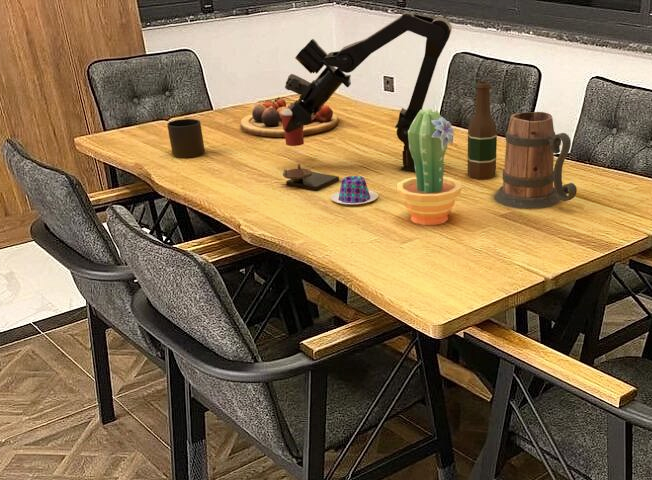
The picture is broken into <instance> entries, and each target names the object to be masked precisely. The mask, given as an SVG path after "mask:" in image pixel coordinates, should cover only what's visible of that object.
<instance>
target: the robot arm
mask: <svg viewBox="0 0 652 480" xmlns="http://www.w3.org/2000/svg"><path fill="white" fill-rule="evenodd" d="M406 32H410V33H413V34H416V35H418V36H421V37H423V38H425V39H426V40H425V48H424V49H425V50H424V57H423V59H422V62H421V66H420V68H419V72H418V76H417V79H416V81H415V85H414V89H413V91H412V95H411V98H410V100H409V104H408V106H407V107H406V109H405V108H404V107H401V109H400V111H399V114H398V120H397V122H396V124H395V126H394V128H395V129H396V136H397V138H398V140H399V141H400V142H402V144H403V150H402V152H401V153H402V166H401V167H400V170H402V171H409V172H414V173H416V172H415V165H414V160H413V157H412V155H411V152H410V150H409V139H408V130H409V128H410V126H411V124H412V122H413V121H414V119H415V117H416V116H417V114H418V112H419V111H420V110H423V107H424V105H425V101H426V98H427V95H428V91H429V88H430V85H431V82H432V78H433V76H434V73H435V69H436V67H437V64H438V60H439V58H440V56H441V54H442V52H443V50H444V48H445V46H446V45H447V42H448V40H449V39H450V36H451V34H452V25H451V22H450V20H448V19H447V18H446V17H444V16H443V17H442V16H439V17H435V18H433V17H430V16H426V15H420V14H417V13H413V12H411V11H405V12H403V13H402V15H400V16H398V18H396V19H394V20H393V21H391V22H389V23H388V24H386V25H385V26H384V27H383V26H382V28H380V29H379V30H377V31H375V32H374V33H372V34H371V35H369V36H368V37H366V38H364V39H362V40H358V41H355V42H353V43H350V44H348V45H345V46H343V47H342V48H341V49H340V50H338V51H331V52H328V53H327V52H326V50H324V49H323V48H322V47H321V46H320V44H318V42H317V41H316V40H315V39H314V38H312V39H310V40H309V42H308V43H307V44H306V45H305V46H304V47H302V49H300V51H299V52H298V53H297V54H296V56H295V57H294V59H295V60H297V62H298V63H299V64H300V65H301V66H302V67H303V68H304V69H306V71H308V73H310V74H318V73H319V72H320V71H322V72H320V74H319V75H318V76H317V77H316V78H315V79H314V80H312V81H311V82H310V81H309V80H307V79H305V78H302V77H300V76H298V75H296V74H294V73H290V74H289V75H288V78H287V79H286V81H285V85H284V89H286V90H287V91H291V92H293V93H296V94H297V95H299V97H298V99H297V100H295V101H294V102H292V103H293V105H292V106H291V107H290V108H289V109H290V111H292V117H291V119H290V120H289V122H288V124H287V126H286V128H285V131H286V132H287V133H288V132H291V131H293V130H295V129H297V128H299V127H302V126H304V125H308V124H309V123H310V122H311V121H312V119H313V118H314V116H315V115H316V114H317V112H319V111H320V110H321V108H322V107H323V106H324V105H326V103H327V102H328V101H329V100H330V98H331V97H332V96H333V95H334V93H336V91H337V90H338V89H339V88H340V86H342V84H343V85H344V86H345V87H346V88H349V87H350V86H351V85H352V82H351V74H350V73H352V72H353V71H354V70H356V69H357V68H358V67H359V66H360V65H361V64H362V63H363V62H364V61H365V60H367V58H368V57H369V56H371V55H372V54H373V53H375V52H376V51H378V50H379V49H381V48H383V47H384V46H386V45H387V44H389V43H390V42H392V41H393V40H395V39H397V38H398V37H400V36H402V35H403V34H404V33H406ZM324 66H325V67H324ZM323 68H324V69H323ZM322 69H323V70H322ZM348 73H349V74H348Z"/></svg>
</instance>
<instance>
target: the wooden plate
mask: <svg viewBox="0 0 652 480" xmlns="http://www.w3.org/2000/svg"><path fill="white" fill-rule="evenodd" d="M293 103H294V102H291V103H289V104H288V105H287V102H286V100H285V99H284V98H282V97H280V96H278V97H277V98H274V101H273V100H266V101H265V102H264V103H260V102H259V103H258V104H256V105H255V106H254V108H253V109H252V112H251V114H249V115H246V116H244V117H243V118H242V119H241V120H240V123H239V126H240V128H241V129H242V131H244V132H245V133H248V134H252V135H256V136H262V137H269V138H271V137H274V138H285V131H284V130H283V123H282V114H281V111H284V110H289V108H290V107H291V106H292V105H293ZM338 123H339V116H338V115H337V114H336V113H334V111H333V109H332V108H331V107H330V106H329V105H327V104H324V106H323V107H322V108H321V110H320V111H319V112H317V114H316V115H315V116H314V118H313V119H312V121H311V122H310V123H309V124H308V125H304V126H303V127H304V129H303V136H308V135H314V134H319V133H322V132H326V131H328V130H331V129H332V128H334V127H336V126H337V125H338Z"/></svg>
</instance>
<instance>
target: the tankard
mask: <svg viewBox="0 0 652 480" xmlns="http://www.w3.org/2000/svg"><path fill="white" fill-rule="evenodd" d="M507 127H508V128H507V130H506V132H505V155H504V165H503V166H504V167H503V168H504V169H503V170H502V177H501V178H502V185H501V186H500V187H499V188H498V191H497V192H496V193H495V194H494V195H493V200H495V202H497V204H501V205H502V206H506V207H509V208H514V209H525V210H526V209H527V210H528V209H529V210H530V209H531V210H534V209H543V208H549V207H552V206H555V205H557V204H559V203H560V202H561V201H562V202H569V201H571V200H573V199H574V198H575V197H576V195H577V192H578V190H577V186H576V185H575V183H573V182H569V183H566V184H563V177H562V176H563V166H564V163H565V160H566V158H567V156H568V154H569V153H570V150H571V144H572V142H571V141H572V140H571V137H570V136H569V134H567V133H566V132H561V133H557V134H556V132H555V127H554V119H553V115H551V113H548V112H544V111H532V112H531V111H530V112H529V111H528V112H527V111H526V112H524V111H522V112H516V113H513V114H511V115H510V118H509V122H508V126H507ZM556 154H557V155H558V154H559V155H558V156H557V158H556V161H555V155H556ZM554 161H555V162H554Z"/></svg>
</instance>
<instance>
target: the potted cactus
mask: <svg viewBox="0 0 652 480" xmlns="http://www.w3.org/2000/svg"><path fill="white" fill-rule="evenodd" d="M454 131H455V130H454V128H453V125H452V123H451V122H450V121H448V120H447V119H446V118H444V117H443V116H442V115H441V114H440V113H439V111H438V110H437V109H434V110H432V108H428V109H426V110H424V109H422V110H420V111H419V112H418V114H417V116H416V117H415V119H414V121H413V122H412V124H411V126H410V128H409V130H408V139H409V150H410V152H411V155H412V157H413V160H414V165H415V172H414V173H415V176H414V177H409V178H405V179H403V180H401V181H400V182H398V183H396V190H397V194H398V196H399V197H401V199H402V203H403V205H404V207H405V209H406V210H407V212H408V213H409V214H410V215H411V216H410V221H411V222H413V223H415V224H417V225H424V226H435V225H440V224H444V223H446V222H447V221H448V220H449V216H448V214H450V212H451V210H452V209H453V208H454V206H455V203H456V200H457V197H458V196H459V195H460V194H461V191H462V183H461V182H460V181H459V180H456V179H454V178H452V177H448V176H444V162H445V160H444V159H445V156H446V153H447V149H448V144H450V145H454V135H455V132H454Z"/></svg>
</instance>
